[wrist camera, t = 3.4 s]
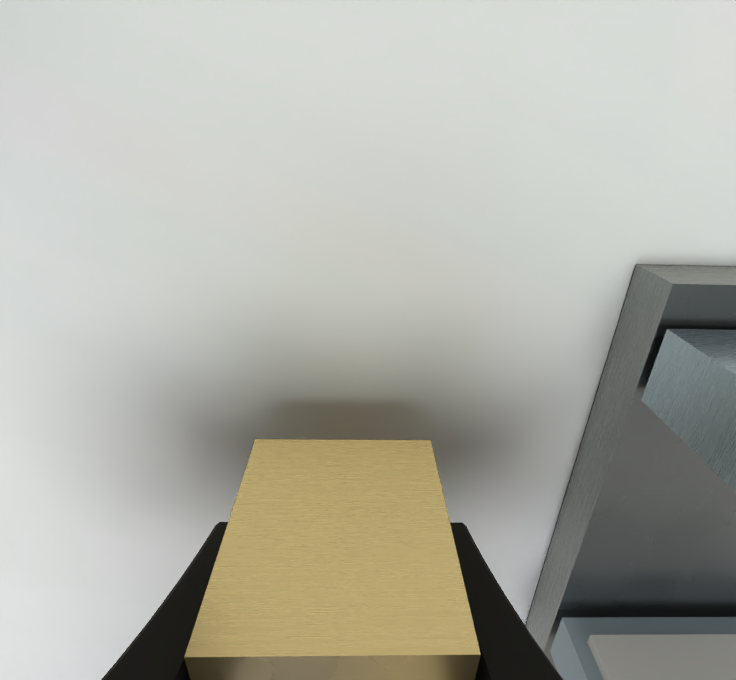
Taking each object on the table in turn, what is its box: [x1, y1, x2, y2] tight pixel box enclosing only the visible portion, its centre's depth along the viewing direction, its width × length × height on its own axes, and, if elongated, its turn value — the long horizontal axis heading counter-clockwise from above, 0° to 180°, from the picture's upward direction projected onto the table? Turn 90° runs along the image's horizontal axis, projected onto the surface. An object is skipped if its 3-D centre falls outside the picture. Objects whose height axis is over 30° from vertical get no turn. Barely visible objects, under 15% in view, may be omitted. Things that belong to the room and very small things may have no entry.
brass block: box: [184, 439, 481, 680], centre depth 10 cm, size 4×4×5 cm
